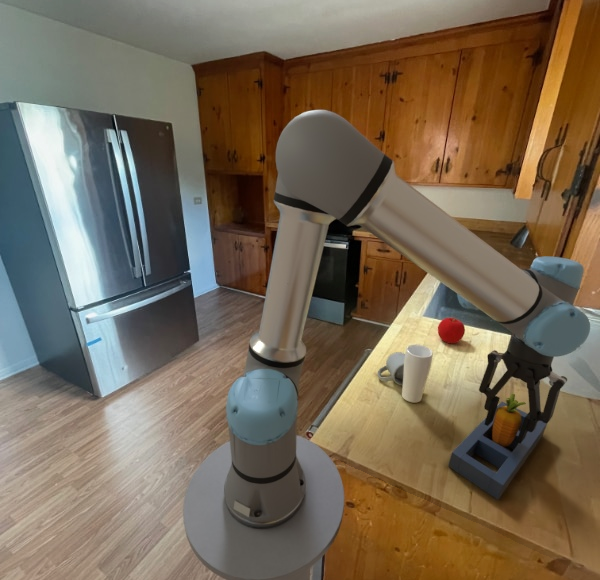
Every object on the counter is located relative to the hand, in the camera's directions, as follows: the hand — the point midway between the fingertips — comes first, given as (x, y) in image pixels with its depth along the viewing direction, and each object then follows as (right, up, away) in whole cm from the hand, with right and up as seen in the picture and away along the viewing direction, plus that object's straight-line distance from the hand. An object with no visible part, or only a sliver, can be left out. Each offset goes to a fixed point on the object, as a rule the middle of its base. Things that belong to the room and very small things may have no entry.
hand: (504, 430), depth 72 cm
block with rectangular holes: (0, -5, +2) cm, 6 cm away
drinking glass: (-14, +2, +19) cm, 24 cm away
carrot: (0, -6, +2) cm, 6 cm away
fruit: (+10, +14, +50) cm, 53 cm away
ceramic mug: (-16, +5, +27) cm, 32 cm away
